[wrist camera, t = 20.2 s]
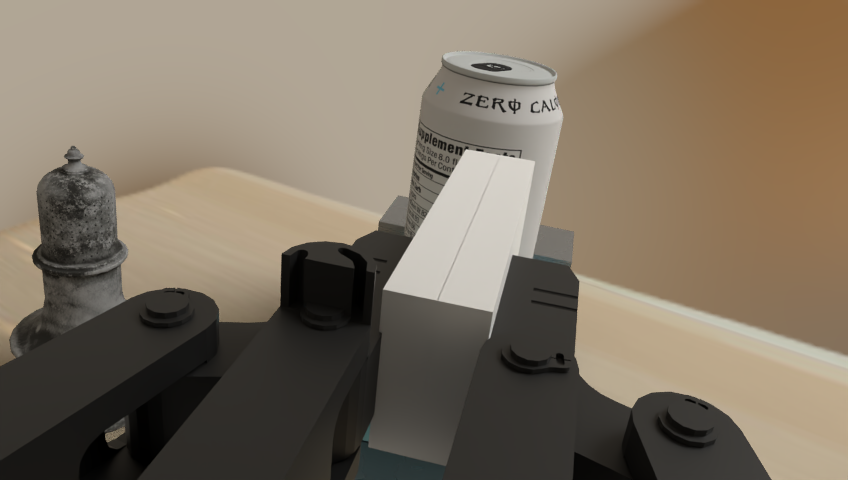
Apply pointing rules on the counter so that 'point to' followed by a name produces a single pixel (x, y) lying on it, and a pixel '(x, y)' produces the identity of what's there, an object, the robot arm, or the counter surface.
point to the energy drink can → (485, 128)
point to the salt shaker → (74, 254)
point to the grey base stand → (403, 476)
